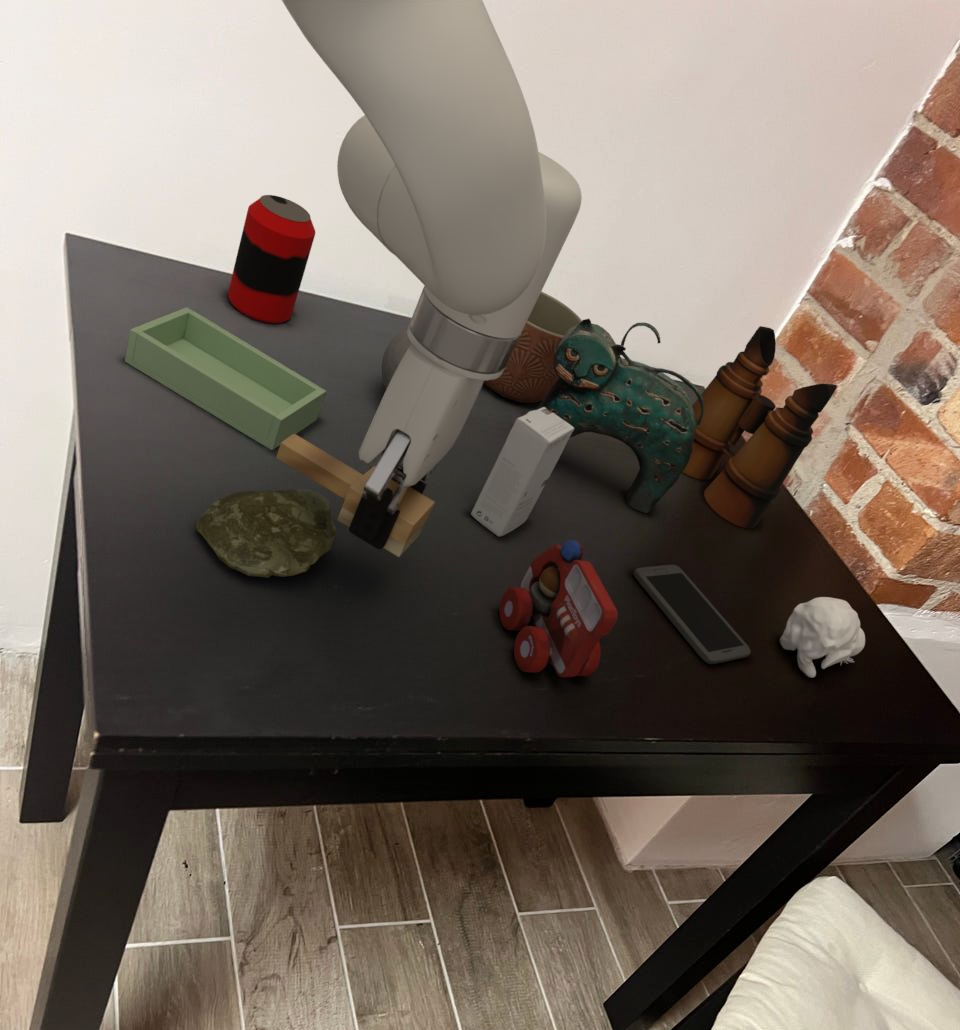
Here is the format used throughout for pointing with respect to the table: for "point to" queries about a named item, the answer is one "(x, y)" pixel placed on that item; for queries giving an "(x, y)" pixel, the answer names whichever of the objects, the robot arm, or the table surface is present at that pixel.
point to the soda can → (271, 259)
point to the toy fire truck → (559, 613)
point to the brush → (356, 490)
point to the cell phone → (692, 614)
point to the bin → (225, 376)
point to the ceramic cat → (625, 406)
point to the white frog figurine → (823, 633)
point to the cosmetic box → (521, 470)
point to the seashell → (269, 531)
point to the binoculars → (774, 437)
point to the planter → (535, 352)
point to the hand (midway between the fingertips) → (380, 524)
